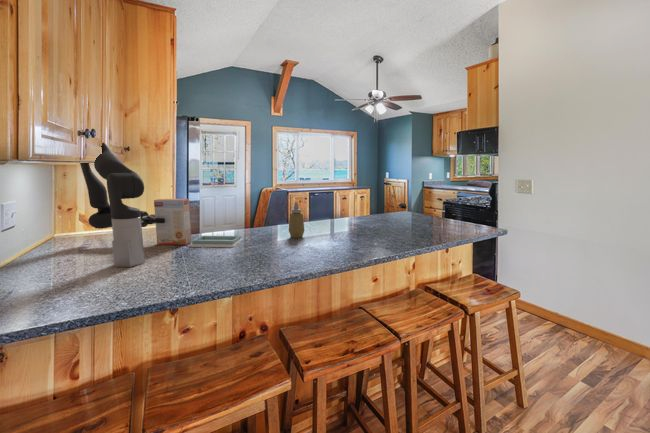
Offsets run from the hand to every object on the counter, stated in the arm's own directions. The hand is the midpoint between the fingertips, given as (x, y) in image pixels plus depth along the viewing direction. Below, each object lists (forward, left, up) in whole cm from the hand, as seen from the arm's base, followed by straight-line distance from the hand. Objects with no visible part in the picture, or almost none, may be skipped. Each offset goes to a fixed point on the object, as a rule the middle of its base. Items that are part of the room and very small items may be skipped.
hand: (169, 219), depth 156 cm
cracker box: (0, -2, -12) cm, 12 cm away
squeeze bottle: (+17, -57, -12) cm, 60 cm away
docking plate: (+1, -22, -12) cm, 25 cm away
